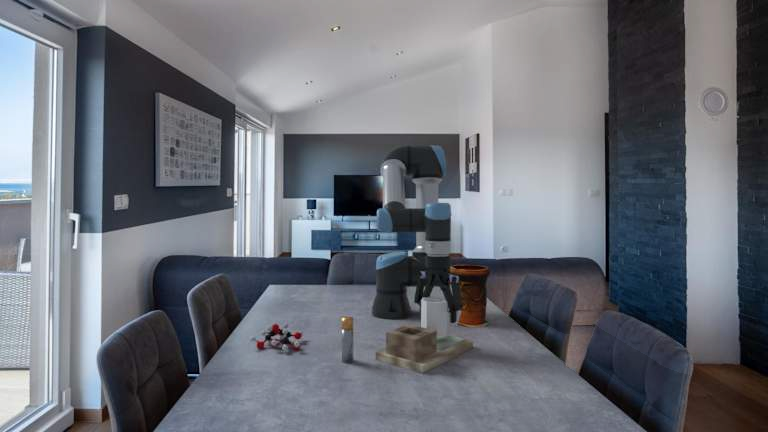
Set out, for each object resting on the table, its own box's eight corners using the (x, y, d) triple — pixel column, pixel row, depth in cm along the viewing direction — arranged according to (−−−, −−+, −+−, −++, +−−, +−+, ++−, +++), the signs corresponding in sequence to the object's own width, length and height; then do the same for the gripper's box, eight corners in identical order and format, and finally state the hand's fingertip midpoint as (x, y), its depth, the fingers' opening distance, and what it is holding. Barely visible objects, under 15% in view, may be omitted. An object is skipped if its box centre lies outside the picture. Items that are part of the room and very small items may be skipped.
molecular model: (278, 335, 150) (317, 331, 145) (261, 366, 140) (303, 363, 135) (263, 312, 146) (303, 307, 140) (245, 343, 136) (287, 339, 130)
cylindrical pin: (339, 361, 128) (339, 318, 127) (347, 358, 130) (347, 315, 129) (347, 364, 125) (347, 320, 125) (355, 360, 128) (355, 317, 127)
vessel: (440, 321, 166) (441, 266, 165) (462, 314, 176) (463, 262, 176) (474, 330, 156) (476, 271, 155) (496, 322, 167) (497, 267, 166)
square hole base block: (375, 359, 129) (375, 330, 129) (428, 336, 149) (428, 312, 148) (422, 373, 119) (422, 342, 118) (472, 347, 139) (473, 321, 138)
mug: (423, 337, 132) (424, 303, 132) (418, 328, 141) (418, 296, 140) (464, 335, 134) (464, 302, 133) (456, 327, 142) (456, 295, 142)
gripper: (402, 253, 141) (401, 326, 142) (462, 259, 127) (462, 340, 128) (416, 250, 147) (416, 321, 148) (476, 256, 133) (475, 334, 134)
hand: (437, 330), depth 138 cm, fingers closed on mug, 8 cm apart
